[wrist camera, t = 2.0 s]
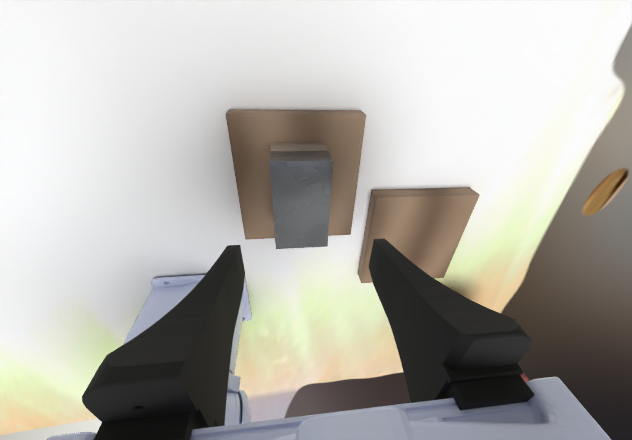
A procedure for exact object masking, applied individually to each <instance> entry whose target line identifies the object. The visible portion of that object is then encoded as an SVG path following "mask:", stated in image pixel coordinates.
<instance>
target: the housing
mask: <svg viewBox="0 0 632 440" xmlns="http://www.w3.org/2000/svg"><path fill="white" fill-rule="evenodd" d="M269 164H270V177H271V190H272V203H273V216H274V229H275V242H276V249H284V248H304V247H324V246H327V243H328V228H329V214H330V199H331V184H332V170H333V160H332V157H331V155H330V153H329V151H328V149H327V147H326V145H325V143H324V142H272V143H271V151H270V160H269Z"/></svg>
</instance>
